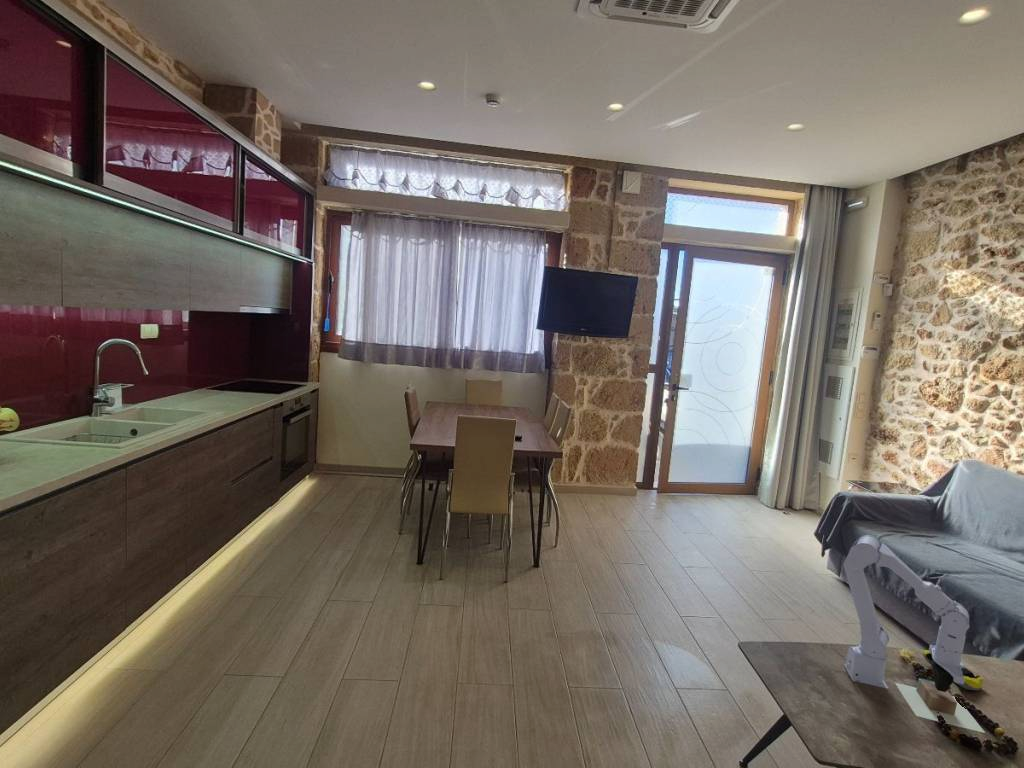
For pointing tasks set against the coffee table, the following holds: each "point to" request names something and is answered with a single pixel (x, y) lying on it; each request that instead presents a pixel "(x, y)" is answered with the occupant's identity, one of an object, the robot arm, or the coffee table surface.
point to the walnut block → (936, 697)
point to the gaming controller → (970, 679)
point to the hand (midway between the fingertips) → (940, 689)
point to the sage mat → (921, 710)
